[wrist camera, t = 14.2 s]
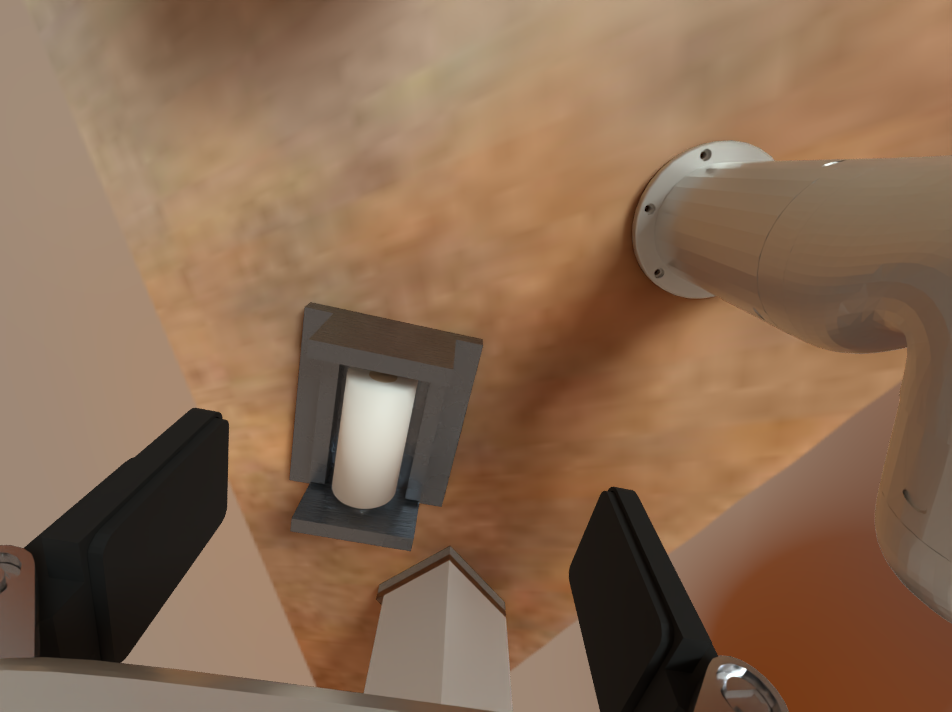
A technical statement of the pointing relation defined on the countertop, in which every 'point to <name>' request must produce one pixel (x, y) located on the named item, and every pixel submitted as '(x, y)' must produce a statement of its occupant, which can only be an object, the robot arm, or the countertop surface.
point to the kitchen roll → (372, 437)
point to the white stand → (441, 638)
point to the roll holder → (430, 429)
